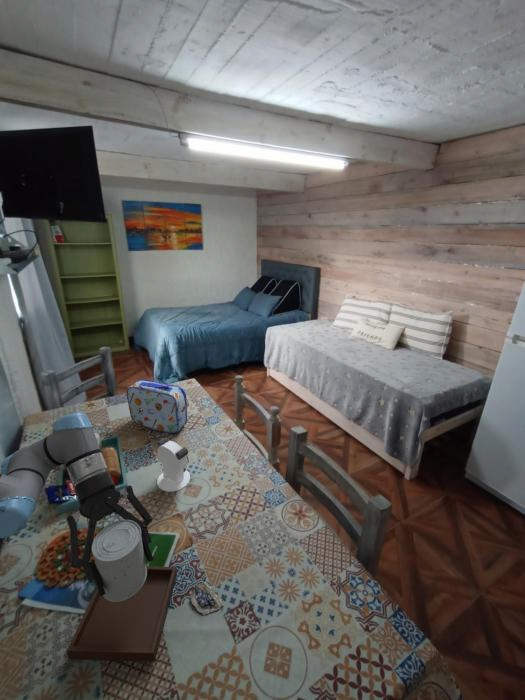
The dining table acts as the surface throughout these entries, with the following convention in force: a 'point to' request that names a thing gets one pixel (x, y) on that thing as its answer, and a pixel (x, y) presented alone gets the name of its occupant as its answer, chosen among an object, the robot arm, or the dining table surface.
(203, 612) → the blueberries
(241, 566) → the dining table surface
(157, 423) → the lunch box
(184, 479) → the white upright piece
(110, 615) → the tray
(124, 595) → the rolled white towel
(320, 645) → the dining table surface
